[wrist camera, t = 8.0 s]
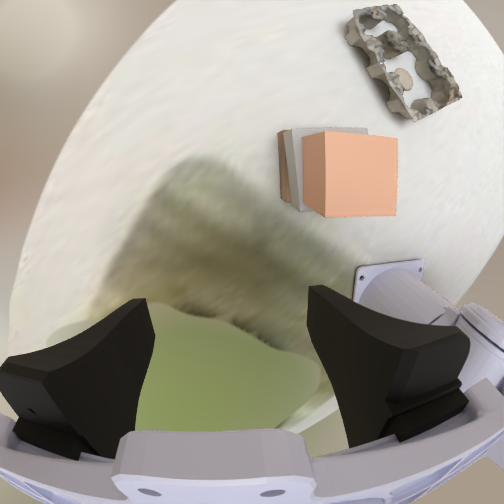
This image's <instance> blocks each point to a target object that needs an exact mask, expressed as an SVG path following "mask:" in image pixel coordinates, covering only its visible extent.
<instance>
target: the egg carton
mask: <svg viewBox="0 0 504 504" xmlns="http://www.w3.org/2000/svg"><path fill="white" fill-rule="evenodd" d="M402 14H403V12H402V10H401V8H400V7H399V6H397V4H394V5H390V6H389V5H383V6H374V7H367V8H363V9H356V10H353V15H354V17H353V18H352V19H351V20H350V21H349V22H348V23H347V26H348V31H349V32H348V34H347V35H346V36H345V37H344V38H345V40H346V41H347V42H348V44H349V45H350V46H357V47H360V48H362V49H363V50H365V51H366V52H367V54H368V56H369V58H370V64H369V66H368V67H367V68H366V70H367V72H368V73H369V75H370V77H371V78H374V79H380V80H382V81H384V83H385V84H386V85H387V86H388V88H389V91H390V98H389V100H388V101H387V102H386V104H387V106H388V108H389V110H390V111H391V112H392V113H393V112H398V113H400V114H401V115H402V116H403V117H404V118H406V119H413V122H416V121H418V120H420V119H422V118H424V117H426V116H428V115H430V114H432V113H434V112H436V111H438V110H440V109H442V108H443V107H445V106H447V105H449V104H451V103H453V102H455V101H457V100H459V99H460V98H462V94H461V93H460V92H459V86H458V84H457V83H456V82H455V80H454V76H453V75H452V74H451V72H450V71H449V70H448V68H446V67H443V66H442V65H441V63H440V60H439V58H438V55H437V54H436V53H435V52H434V51H433V50H432V49H431V47H430V46H429V44H428V43H427V42H426V40H425V38H424V36H423V34H422V33H421V32H420V31H419V30H418V29H417V28H416V27H415V26H414V25H413V24H412V23H411V22H410V21H409V19H408V18H407V17H405V16H403V15H402ZM382 20H385V21H386V22H389V23H393V24H394V25H395V26H396V28H397V29H398V31H399V32H398V33H396V32H394V31H389V30H388V31H386V32H385V33H383V34H382V35H380V36H379V37H377V38H375V37H373V35H365V34H364V32H365V29H372V28H373V27H374V26H376V25H377V24H378V23H380V22H381V21H382ZM406 51H411V52H412V54H413V55H414V56H415V57H416V59H417V61H416V63H415V70H416V72H417V74H418V75H419V76H420V78H421V79H423V80H425V81H429V83H430V85H431V86H432V89H433V92H432V94H431V98H424V99H419V100H415V101H414V102H413V103H412V105H411V108H409V107H408V106H406V105H405V103H404V98H403V96H402V95H403V92H404V90H405V91H409V90H410V89H412V86H413V80H412V78H411V76H410V74H409V73H408V72H407V71H406V70H404V69H401V68H397V69H396V70H395V71H394V73H393V72H389V73H387V72H386V67H385V65H384V59H383V57H384V58H386V59H391V58H393V57H396V56H398V55H400V54H402V53H404V52H406ZM380 62H382V63H383V64H382V65H381V64H380Z"/></svg>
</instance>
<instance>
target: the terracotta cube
mask: <svg viewBox="0 0 504 504" xmlns="http://www.w3.org/2000/svg"><path fill="white" fill-rule="evenodd" d="M302 157H303V204H305V205H306V206H308V207H310V208H311V209H313V210H314V211H316V212H317V213H319V214H321V215H322V216H324V217H362V216H396V201H397V178H398V139H397V138H390V137H383V136H375V135H366V134H357V133H346V132H332V131H323V132H319V133H315V134H311V135H308V136H304V137H302Z"/></svg>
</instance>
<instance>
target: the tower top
mask: <svg viewBox="0 0 504 504" xmlns="http://www.w3.org/2000/svg"><path fill="white" fill-rule="evenodd" d="M323 131H332V132H346V133H357V134H366V135H368V130H367V128H307V129H291V130H289V131H287V132H284V133H283V135H284V143H285V151H286V160H287V169H288V179H289V188H290V199H291V205H292V206H293V207H294V208H296V209H297V210H298V211H300V212H304V211H313V209H311V208H310V207H308V206H306V205H305V204H303V157H302V137H304V136H308V135H311V134H315V133H319V132H323Z"/></svg>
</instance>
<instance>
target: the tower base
mask: <svg viewBox="0 0 504 504" xmlns="http://www.w3.org/2000/svg"><path fill="white" fill-rule="evenodd" d="M287 131H289V130H283V131H281V132H279V133H278V148H279V167H280V190H281V198H282V199H283V200H284V201H286V202H291V199H290V188H289V179H288V169H287V160H286V151H285V143H284V135H283V133H284V132H287Z"/></svg>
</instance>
